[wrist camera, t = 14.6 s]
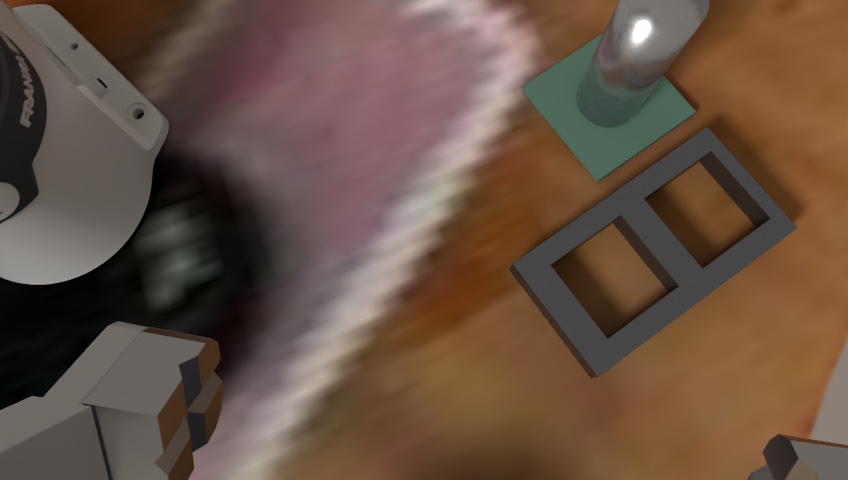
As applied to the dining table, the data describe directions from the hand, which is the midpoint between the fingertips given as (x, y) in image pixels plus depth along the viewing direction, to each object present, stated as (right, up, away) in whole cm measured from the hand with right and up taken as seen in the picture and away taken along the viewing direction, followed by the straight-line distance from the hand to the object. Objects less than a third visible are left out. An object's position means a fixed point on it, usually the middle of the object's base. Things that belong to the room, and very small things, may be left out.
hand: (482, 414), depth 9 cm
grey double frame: (+15, +2, +34) cm, 38 cm away
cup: (+13, +13, +37) cm, 41 cm away
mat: (+13, +13, +37) cm, 42 cm away
